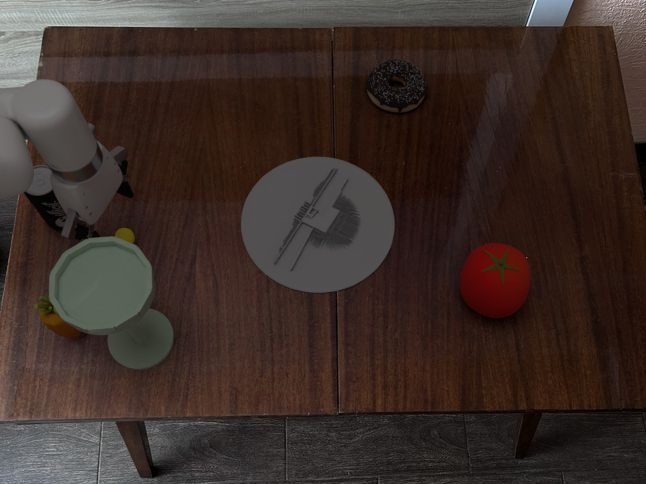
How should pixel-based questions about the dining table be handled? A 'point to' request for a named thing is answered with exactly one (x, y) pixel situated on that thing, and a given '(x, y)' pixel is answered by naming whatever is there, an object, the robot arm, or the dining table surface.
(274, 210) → the plate
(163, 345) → the stand
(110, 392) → the dining table surface
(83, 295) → the platter
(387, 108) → the donut
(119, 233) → the light bulb
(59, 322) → the carrot
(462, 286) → the tomato
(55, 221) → the beverage can
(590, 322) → the dining table surface
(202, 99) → the dining table surface
